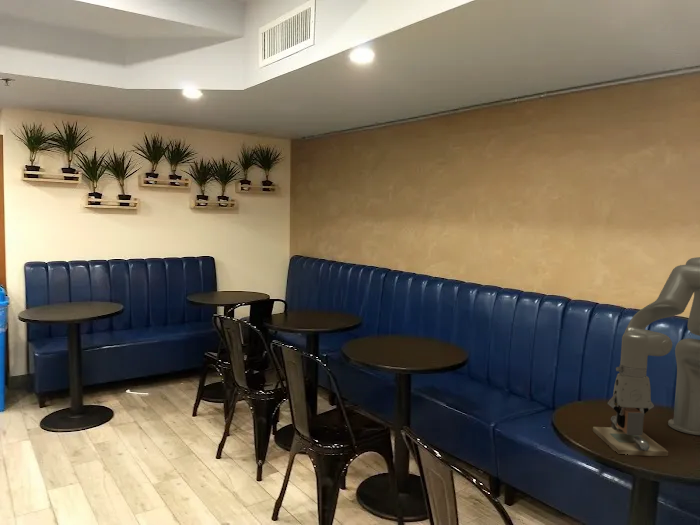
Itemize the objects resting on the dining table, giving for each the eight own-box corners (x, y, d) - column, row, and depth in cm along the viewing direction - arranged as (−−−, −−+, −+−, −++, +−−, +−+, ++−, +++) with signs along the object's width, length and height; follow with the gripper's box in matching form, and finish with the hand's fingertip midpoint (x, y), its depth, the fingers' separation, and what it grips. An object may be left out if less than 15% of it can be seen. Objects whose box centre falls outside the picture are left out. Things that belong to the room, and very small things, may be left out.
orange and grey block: (642, 435, 164) (643, 413, 164) (627, 434, 165) (629, 413, 164) (629, 425, 172) (630, 404, 172) (615, 425, 173) (617, 404, 172)
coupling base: (637, 432, 178) (637, 423, 177) (667, 456, 160) (668, 445, 159) (592, 431, 178) (593, 421, 178) (618, 454, 160) (619, 444, 160)
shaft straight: (640, 443, 164) (641, 436, 164) (649, 450, 159) (649, 443, 159) (632, 443, 164) (633, 436, 164) (641, 450, 159) (641, 442, 159)
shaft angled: (616, 425, 179) (617, 415, 179) (624, 431, 174) (625, 421, 173) (609, 425, 179) (610, 414, 179) (617, 431, 174) (618, 420, 173)
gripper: (611, 373, 163) (608, 430, 165) (666, 375, 163) (662, 432, 164) (601, 367, 171) (597, 421, 172) (653, 368, 170) (649, 423, 172)
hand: (629, 425), depth 168 cm, fingers closed on orange and grey block, 4 cm apart
